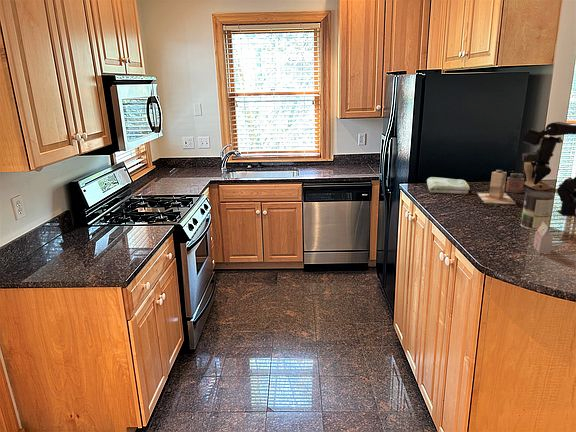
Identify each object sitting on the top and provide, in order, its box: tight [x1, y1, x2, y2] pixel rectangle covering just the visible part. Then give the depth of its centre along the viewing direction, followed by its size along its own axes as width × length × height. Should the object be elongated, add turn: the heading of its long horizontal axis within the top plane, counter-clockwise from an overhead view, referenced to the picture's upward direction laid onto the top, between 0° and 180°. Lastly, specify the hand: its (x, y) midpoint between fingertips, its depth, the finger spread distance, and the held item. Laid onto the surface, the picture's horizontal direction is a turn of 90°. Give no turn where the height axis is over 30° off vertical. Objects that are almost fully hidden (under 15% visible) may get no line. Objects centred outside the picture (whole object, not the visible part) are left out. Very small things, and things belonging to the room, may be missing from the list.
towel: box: [426, 176, 471, 195], centre depth 240 cm, size 18×21×5 cm
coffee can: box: [520, 190, 555, 231], centre depth 178 cm, size 10×10×14 cm
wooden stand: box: [523, 162, 552, 191], centre depth 238 cm, size 15×12×15 cm
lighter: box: [505, 172, 525, 194], centre depth 231 cm, size 8×3×10 cm, turn 62°
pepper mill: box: [488, 169, 508, 199], centre depth 218 cm, size 5×5×14 cm
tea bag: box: [532, 222, 554, 255], centre depth 155 cm, size 4×7×10 cm, turn 167°
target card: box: [476, 192, 517, 205], centre depth 220 cm, size 18×14×1 cm
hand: (533, 181), depth 204 cm, fingers open, 9 cm apart
